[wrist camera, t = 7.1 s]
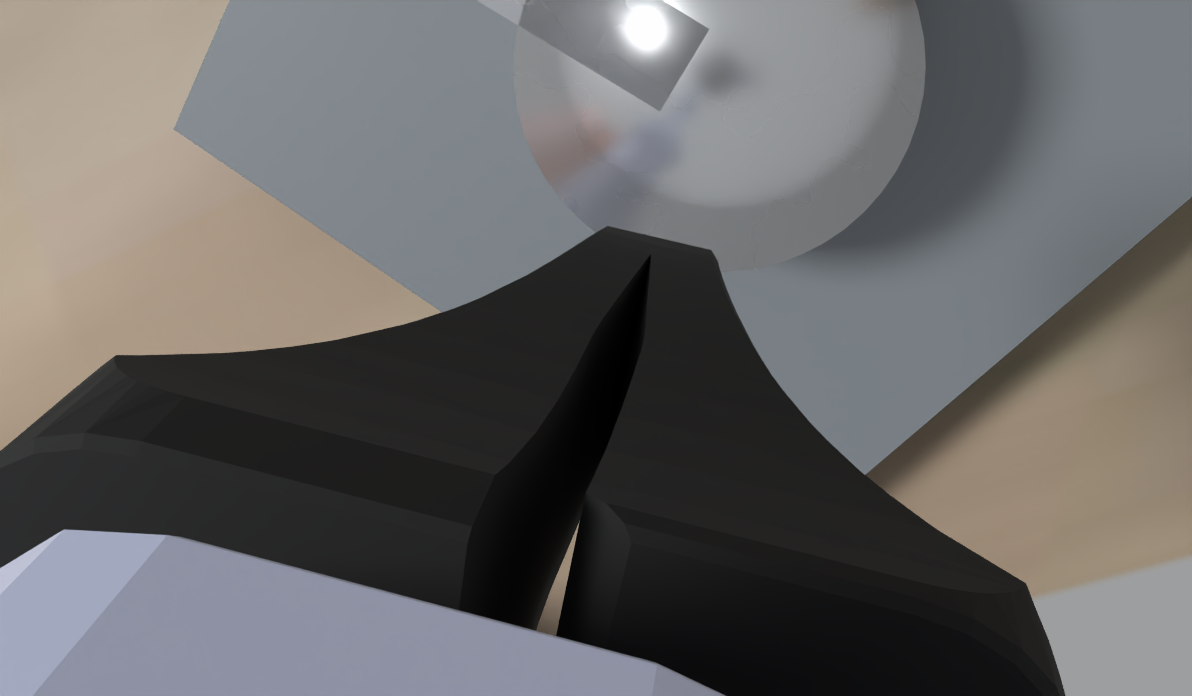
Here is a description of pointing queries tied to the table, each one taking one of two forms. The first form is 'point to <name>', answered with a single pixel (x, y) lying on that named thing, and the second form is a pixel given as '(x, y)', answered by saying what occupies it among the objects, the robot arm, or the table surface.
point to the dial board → (768, 294)
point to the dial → (719, 114)
